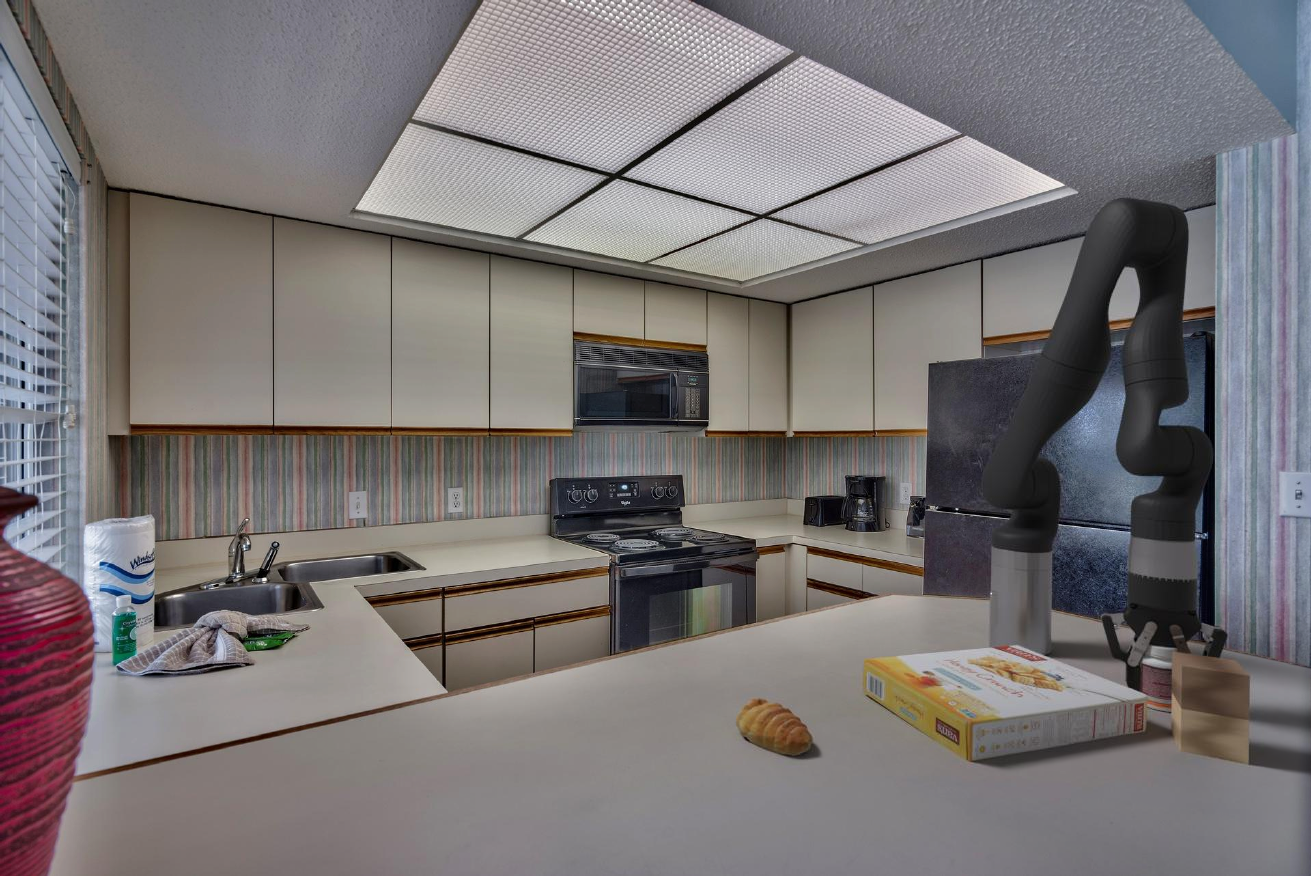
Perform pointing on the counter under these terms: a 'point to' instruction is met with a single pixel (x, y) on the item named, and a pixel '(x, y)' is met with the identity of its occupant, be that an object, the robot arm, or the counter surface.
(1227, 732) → the maple block
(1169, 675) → the pill bottle
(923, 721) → the cereal box
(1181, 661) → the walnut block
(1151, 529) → the robot arm
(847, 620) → the counter surface
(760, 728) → the pastry
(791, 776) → the counter surface
